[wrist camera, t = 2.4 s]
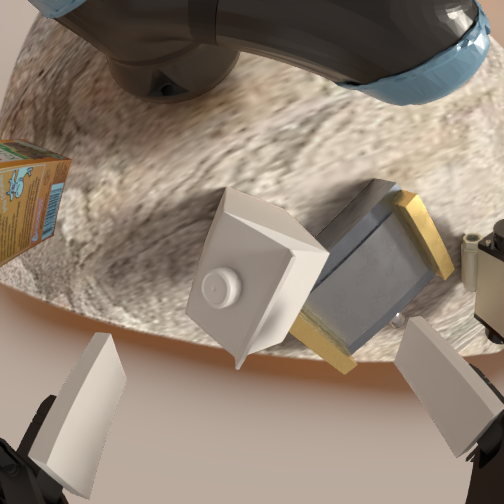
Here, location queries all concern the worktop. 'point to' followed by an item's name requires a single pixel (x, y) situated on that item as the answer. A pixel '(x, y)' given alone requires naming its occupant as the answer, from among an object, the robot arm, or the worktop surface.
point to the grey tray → (369, 271)
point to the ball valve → (486, 278)
